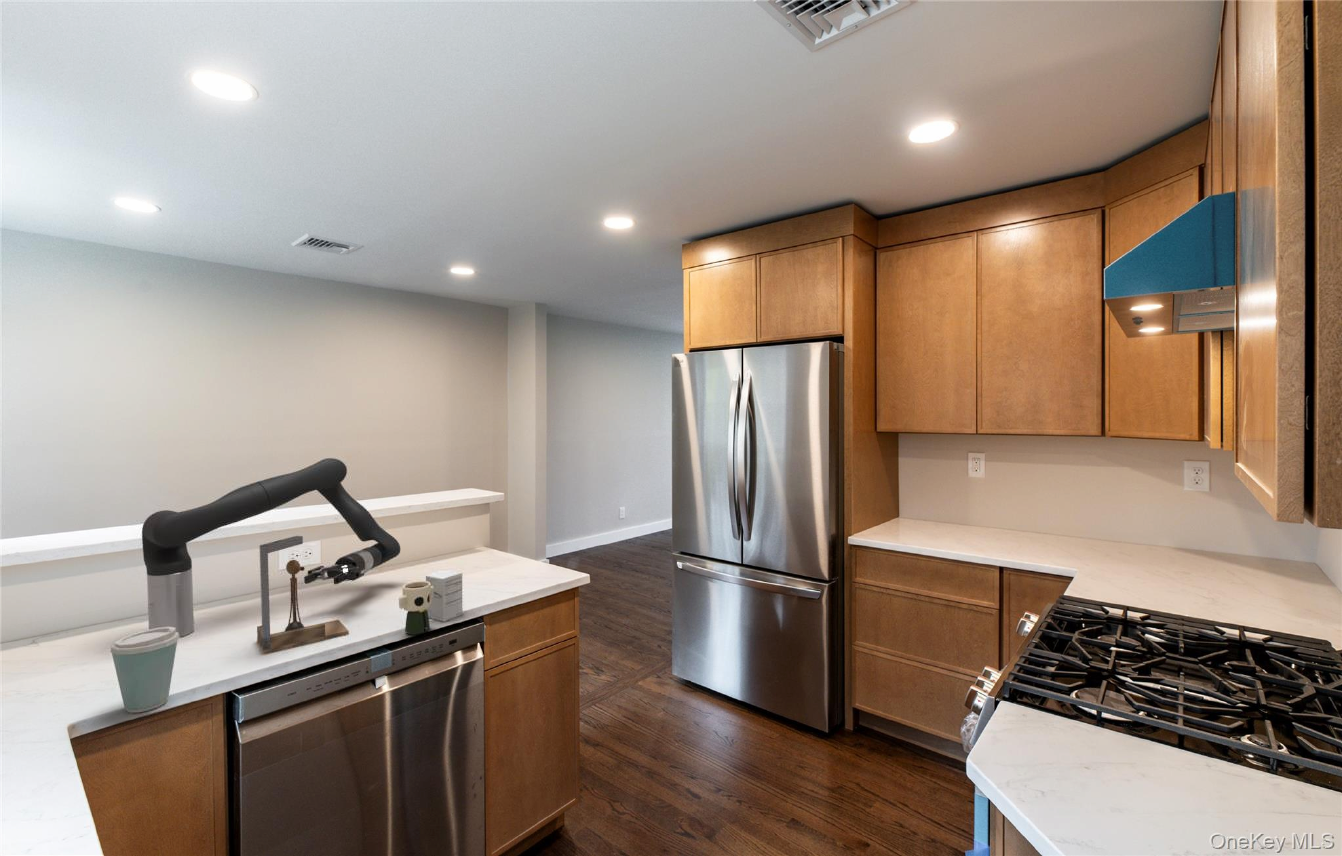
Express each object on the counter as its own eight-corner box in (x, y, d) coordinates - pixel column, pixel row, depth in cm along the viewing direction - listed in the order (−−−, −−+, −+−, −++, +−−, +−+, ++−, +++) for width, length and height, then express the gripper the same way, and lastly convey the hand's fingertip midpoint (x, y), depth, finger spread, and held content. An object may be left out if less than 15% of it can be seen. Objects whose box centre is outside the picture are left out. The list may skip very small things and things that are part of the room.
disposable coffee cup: (99, 722, 116) (96, 646, 115) (132, 695, 126) (129, 626, 125) (164, 714, 119) (162, 640, 118) (191, 689, 129) (189, 621, 128)
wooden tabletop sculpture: (312, 633, 157) (310, 559, 156) (295, 640, 153) (293, 563, 152) (296, 630, 159) (295, 556, 159) (279, 636, 155) (277, 561, 154)
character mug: (409, 641, 155) (408, 592, 154) (391, 636, 158) (390, 588, 157) (443, 627, 164) (442, 581, 164) (425, 623, 167) (424, 577, 167)
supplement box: (425, 618, 171) (424, 575, 171) (445, 610, 178) (445, 568, 177) (443, 622, 168) (442, 578, 167) (463, 614, 174) (463, 572, 174)
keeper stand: (263, 654, 147) (260, 546, 145) (257, 640, 155) (254, 538, 154) (348, 634, 159) (346, 535, 158) (338, 622, 167) (336, 528, 166)
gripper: (331, 552, 183) (295, 566, 167) (376, 553, 182) (344, 567, 166) (332, 576, 183) (296, 593, 167) (377, 577, 182) (345, 594, 166)
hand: (320, 580), depth 167 cm, fingers open, 8 cm apart
